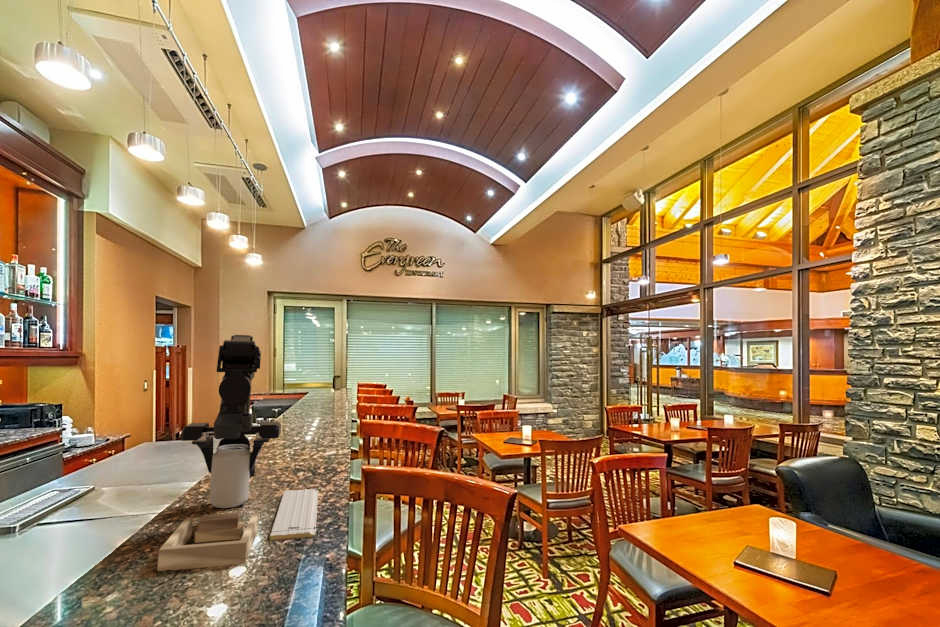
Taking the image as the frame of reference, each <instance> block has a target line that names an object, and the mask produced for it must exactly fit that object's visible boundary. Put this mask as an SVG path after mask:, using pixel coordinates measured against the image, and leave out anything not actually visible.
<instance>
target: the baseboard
mask: <svg viewBox="0 0 940 627" xmlns="http://www.w3.org/2000/svg"><path fill="white" fill-rule="evenodd" d="M318 502H319V490H316V489H315V488H309V489H307V488H305V489H296V490H295V489H289V490H284V491H283V494H282V497H281V500H280V504H279V507H278V509H277V513H276V516H275V519H274V523H273V525H272V529H271V530H270V536H269V541H279V540H289V539H303V538H315V537H319V534H320V535H321V533H322V531H319V529H318V530H316V528H317V519H318V517H317V516H318V506H317V505H318V504H319V503H318Z"/></svg>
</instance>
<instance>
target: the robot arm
mask: <svg viewBox="0 0 940 627" xmlns="http://www.w3.org/2000/svg"><path fill="white" fill-rule="evenodd" d="M261 356H262V351H261V350H260V347H259V346H258V345H256V341H255V340H254V337H253V336H252V335H248V334H247V335H246V334H234V335H231V337H230V340H227V339H226V340H224V341H223V343H222V345H221V344H220V345H219V348H218V357H217V364H216V373H224V375H223V376H222V380H221V382H220V384H219V386H218V394H219V397H220V406H219V411H218V414H217V416H216V418H215V421H214V422H213V426H210V424H209V423H210V422H190V423H189V424H187V425H186V426H184V427H183V428H182V429H181V431H180V441H182V442H183V441H184V442H189V441H191V444H192V445H196V446H197V447H198V448H199V450H200V451H201V453H202V456H203V458H204V461H205V465H206V467H207V471H208V473H209V474H211V467H212V456H213V454H214V439H216V440H220V441H219V442H218V445H217V447H219V446H223V445H231V444H243V445H247V446H248V450H249V451H250V452H251V461H250V478H249V479H251V478H252V477H255V472H256V461H257V459H258V456H259V455H260V454H259V453H260V452H261V449H262V447H263V445H264V443H269V442H270V440H271V439H279V438H280V436H281V434H282V423H281V422H280V421H262V422H261V424H259V425H253V413H250V411H251V410H250V409H251V408H250V407H251V395H252V394H251V391H252V381H253V379H254V378H255V373H258V369H259V370H260V369H261ZM221 366H222V367H221ZM246 435H247V436H248V435H255V439H253V444H252V445H253V446H252V450H251V442H250V440H249V438H248V437H247V436H246ZM246 501H247V500H245V501H244V503H243V504H241V505H238V506H235V507H234V508H237V507H244V505H245V504H246ZM212 509H218V508H217V507H214V506H213V505H212Z"/></svg>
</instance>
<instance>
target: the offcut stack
mask: <svg viewBox="0 0 940 627" xmlns="http://www.w3.org/2000/svg"><path fill="white" fill-rule="evenodd" d="M239 517H240V512H237V511H236V512H227V513H216V514H207V515H206V514H205V515H201V516H200V518H199V520H198V524H197V525H198V526H197V529H196V531H195V532H194V533H195V534H194V544H195V543H196V544H199V543H208V542H209V543H211V542H223V541H231V540H232V541H235V540H241V538H242V536H243V534H244V531H245V522H244V521H239Z"/></svg>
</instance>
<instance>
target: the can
mask: <svg viewBox="0 0 940 627" xmlns="http://www.w3.org/2000/svg"><path fill="white" fill-rule="evenodd" d="M215 450H216V451H215V452H213V456H212V467H211V473H210V483H209V484H210V485H209V498H208V502H209V503H210V505H212V507H213V506H214V507H217V508H216V509H219V508H220V509H228V508H229V509H230V508H236V507H235V506H238V505H241V504H243V503H244V501H245V500H246V501H247V500H248V499H249V493H250V492H249V491H250V490H249V489H250V479H251V478H250V461H251V452H252V451H251V450H250V451H249V450H248V446H247V445H243V444H231V445H223V446H219V447H218V446H217V447H216V449H215Z"/></svg>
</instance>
